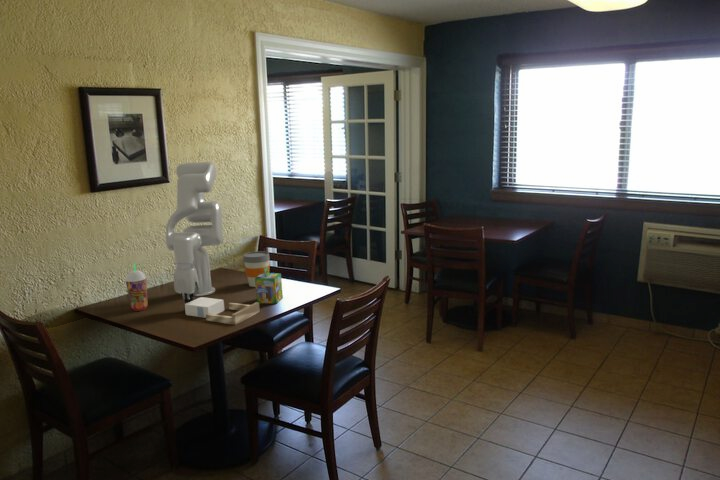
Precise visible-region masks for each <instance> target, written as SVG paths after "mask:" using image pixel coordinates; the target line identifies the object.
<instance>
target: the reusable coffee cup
mask: <svg viewBox="0 0 720 480" xmlns="http://www.w3.org/2000/svg"><path fill="white" fill-rule="evenodd" d="M270 259H271V258H270V252H268V251H263V250H261V251H260V250H259V251H249V252H246V253H244V254H243V261H242V262H244V271H245V276H246V277H247V283H248V286H249V287H252V288H256V285H255V278H256V277H257V276H259V275H260V274H262V273H264V269H265V268H266V267H268V270H269V271H270V268H271V267H270V265H271V264H270ZM266 273H268V271H267V270H266Z"/></svg>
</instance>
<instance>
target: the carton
mask: <svg viewBox="0 0 720 480" xmlns="http://www.w3.org/2000/svg"><path fill="white" fill-rule="evenodd" d="M224 301H225V300H224V299H220V298H212V297H204V296H199V297H197V298H195V299H194V300H193V301H191V302H188V303H186V304H185V303H184V309H185V315H186V316H192V317H198V318H205V319H206V314H208V313H209V314H216V315H219V314H220V313H222V312H224V311H225V302H224Z"/></svg>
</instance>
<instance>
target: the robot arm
mask: <svg viewBox="0 0 720 480" xmlns="http://www.w3.org/2000/svg"><path fill="white" fill-rule="evenodd" d="M175 170H176V176H177V178H178V179H177V190H176V191H177V192H176V193H177V194H176V196H177V197H176V204H177V205H176V206H177V207H176V209H175V210H174V212H173V213H172V214H171V216H170V217H169V218H168V221H167V222H166V227H165V245H166V248H167V249H168V250H169V251H173V254H174V261H175V262H174V263H173V264H174V265H175V268H174V271H173V289H174V291H175V292H176V293H177V294H179V295H181V296H182V299H183V300H184V305H185V304H186V303H188V302H191V301H193V299H194V298H195V297H204V296H208V295H212V294H214V293H215V292H216V288H215V287H214V286H212V278H211V267H210V266H211V265H210V256H209V254H208V251H207V250H206V249H205V248H204V247H210V246H211V247H213V246H219V245H221V244H222V243H223V239H224V238H223V234H224V233H223V213H222V211H223V210H222V207H221V204H220V203H219V202H217V201H214V200H213V201H206V200H205V197H206V196H205V193H210V192H211V191H212V189H213V187H214V183H215V180H216V177H217V167H216V166H215V164H214V163H213V162H211V161H210V162H209V161H207V162H206V161H205V162H184V163H181V164H178V165H177V166H176V169H175ZM185 218H186V220H187V222H189V223H192V224H198V223H199V224H200V223H203V224H202V225H201V224H200V225H190V226H186V227H185V228H184V229H183V231H182V232H175V227H176V226H177V224H178V223H179V222H180V221H181V220H183V219H185ZM204 223H211V224H204Z"/></svg>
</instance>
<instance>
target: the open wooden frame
mask: <svg viewBox="0 0 720 480" xmlns="http://www.w3.org/2000/svg"><path fill="white" fill-rule="evenodd" d="M228 310H232V311H235V313H232V314H231V316H230V315H222V314H209V313H208V314H206V318H205V320H206V321H207V322H215V323H221V324H228V325H238V324H240V323H242V322H244V321H245V320H247V319H250V318H251V317H253V316H254V315H257V314H258V313H260V311H261V310H260V304H259V303H258V302H257V301H256V302H254V303H252V304H248V303H247V304H244V303H237V302H229V303H228Z"/></svg>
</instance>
